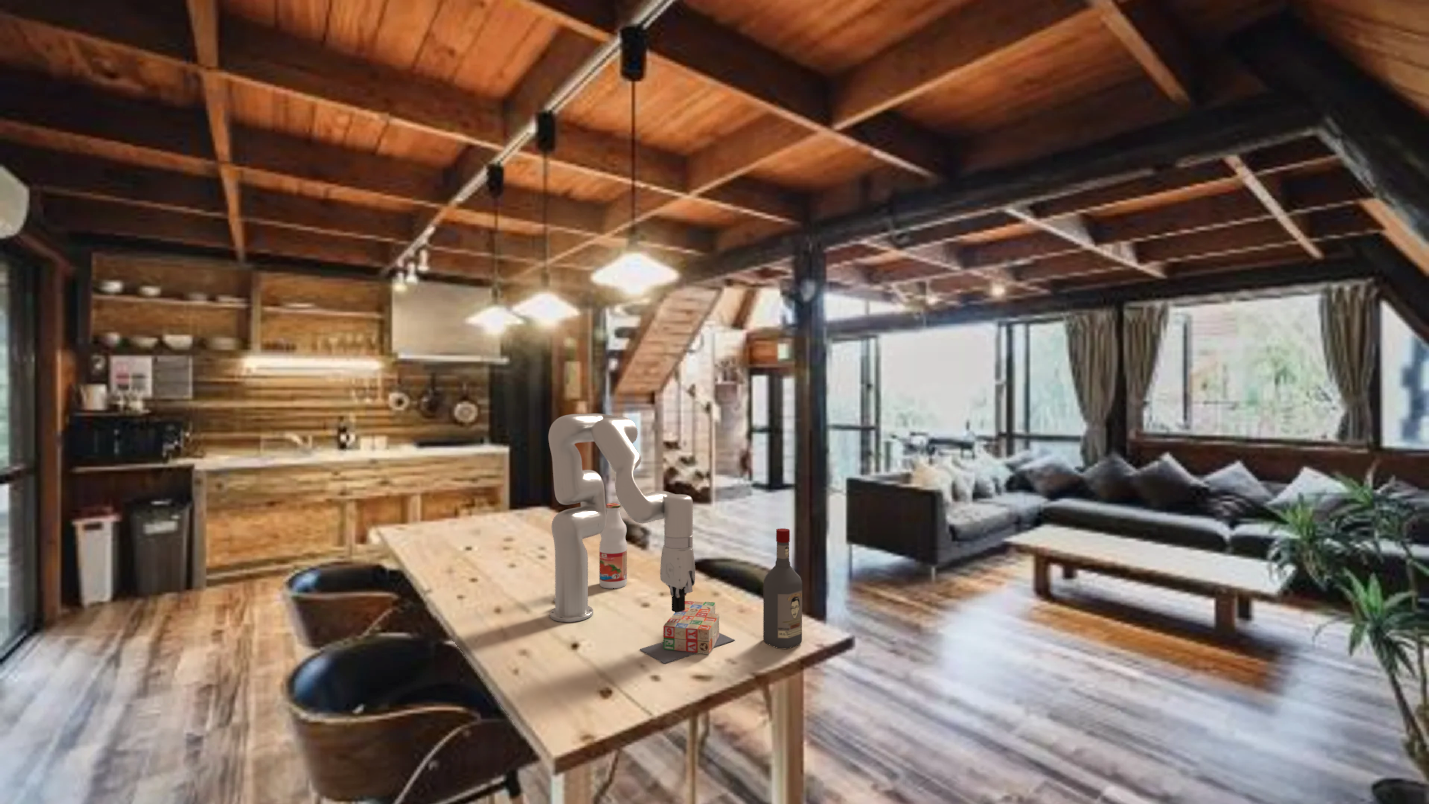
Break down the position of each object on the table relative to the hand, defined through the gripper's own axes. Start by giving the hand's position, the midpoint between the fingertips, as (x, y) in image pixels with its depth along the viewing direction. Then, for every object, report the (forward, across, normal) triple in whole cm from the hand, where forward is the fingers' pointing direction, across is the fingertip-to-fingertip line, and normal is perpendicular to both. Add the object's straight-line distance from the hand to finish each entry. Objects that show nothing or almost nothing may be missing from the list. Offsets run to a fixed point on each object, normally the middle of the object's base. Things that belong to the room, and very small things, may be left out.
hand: (678, 610), depth 169 cm
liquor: (+9, +17, +22) cm, 29 cm away
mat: (+9, +3, +1) cm, 9 cm away
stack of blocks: (+5, -5, +2) cm, 7 cm away
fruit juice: (+9, -55, +13) cm, 57 cm away
